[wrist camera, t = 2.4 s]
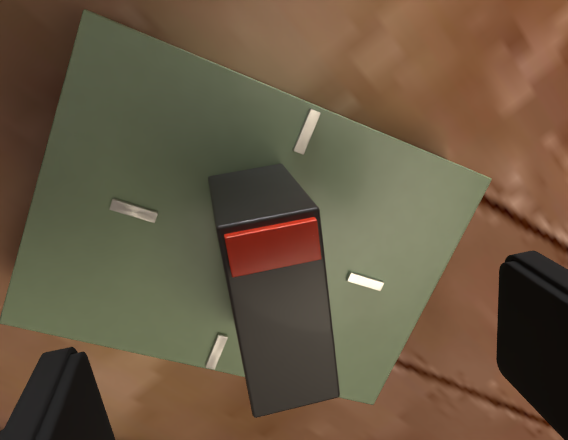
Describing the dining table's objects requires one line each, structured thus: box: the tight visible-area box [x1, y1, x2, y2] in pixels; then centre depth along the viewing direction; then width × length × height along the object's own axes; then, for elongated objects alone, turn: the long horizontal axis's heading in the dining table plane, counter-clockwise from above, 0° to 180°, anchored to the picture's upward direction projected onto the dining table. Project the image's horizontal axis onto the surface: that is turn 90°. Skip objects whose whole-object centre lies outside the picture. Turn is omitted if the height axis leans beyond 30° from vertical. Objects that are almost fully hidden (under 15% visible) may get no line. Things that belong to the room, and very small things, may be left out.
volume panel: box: [0, 9, 491, 405], centre depth 17 cm, size 14×10×3 cm
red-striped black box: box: [208, 164, 340, 418], centre depth 14 cm, size 6×2×5 cm, turn 8°
